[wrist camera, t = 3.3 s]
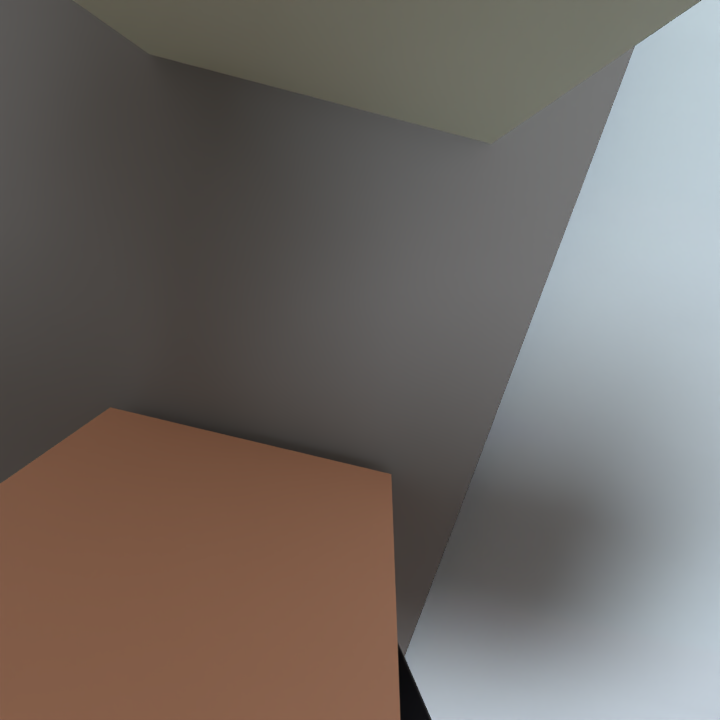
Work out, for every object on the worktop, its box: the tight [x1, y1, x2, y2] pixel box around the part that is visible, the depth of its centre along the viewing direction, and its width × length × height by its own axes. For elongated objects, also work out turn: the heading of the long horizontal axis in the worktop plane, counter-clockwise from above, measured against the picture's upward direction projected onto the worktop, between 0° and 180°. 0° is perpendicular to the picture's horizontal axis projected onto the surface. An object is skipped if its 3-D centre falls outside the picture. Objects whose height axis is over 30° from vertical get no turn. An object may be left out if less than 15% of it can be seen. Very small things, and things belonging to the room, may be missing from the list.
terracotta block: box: [0, 407, 400, 720], centre depth 6 cm, size 5×5×5 cm
